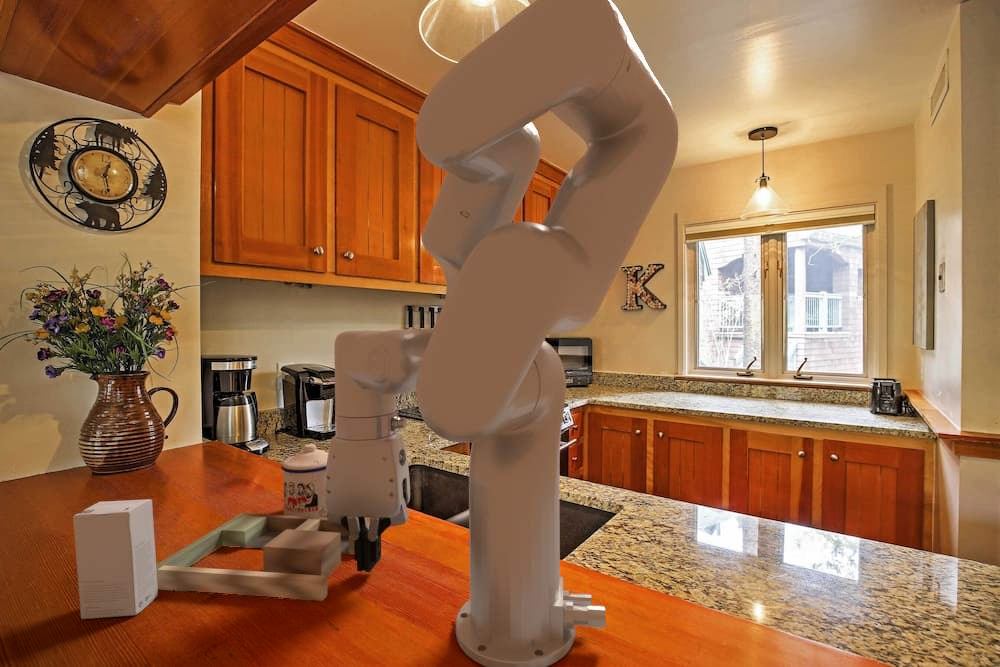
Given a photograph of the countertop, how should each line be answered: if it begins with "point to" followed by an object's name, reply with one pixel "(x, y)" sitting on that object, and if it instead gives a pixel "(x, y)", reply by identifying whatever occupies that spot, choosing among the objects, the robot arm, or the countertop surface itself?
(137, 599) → the skincare box
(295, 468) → the teacup with lid
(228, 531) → the tray
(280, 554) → the block
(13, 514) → the countertop surface
